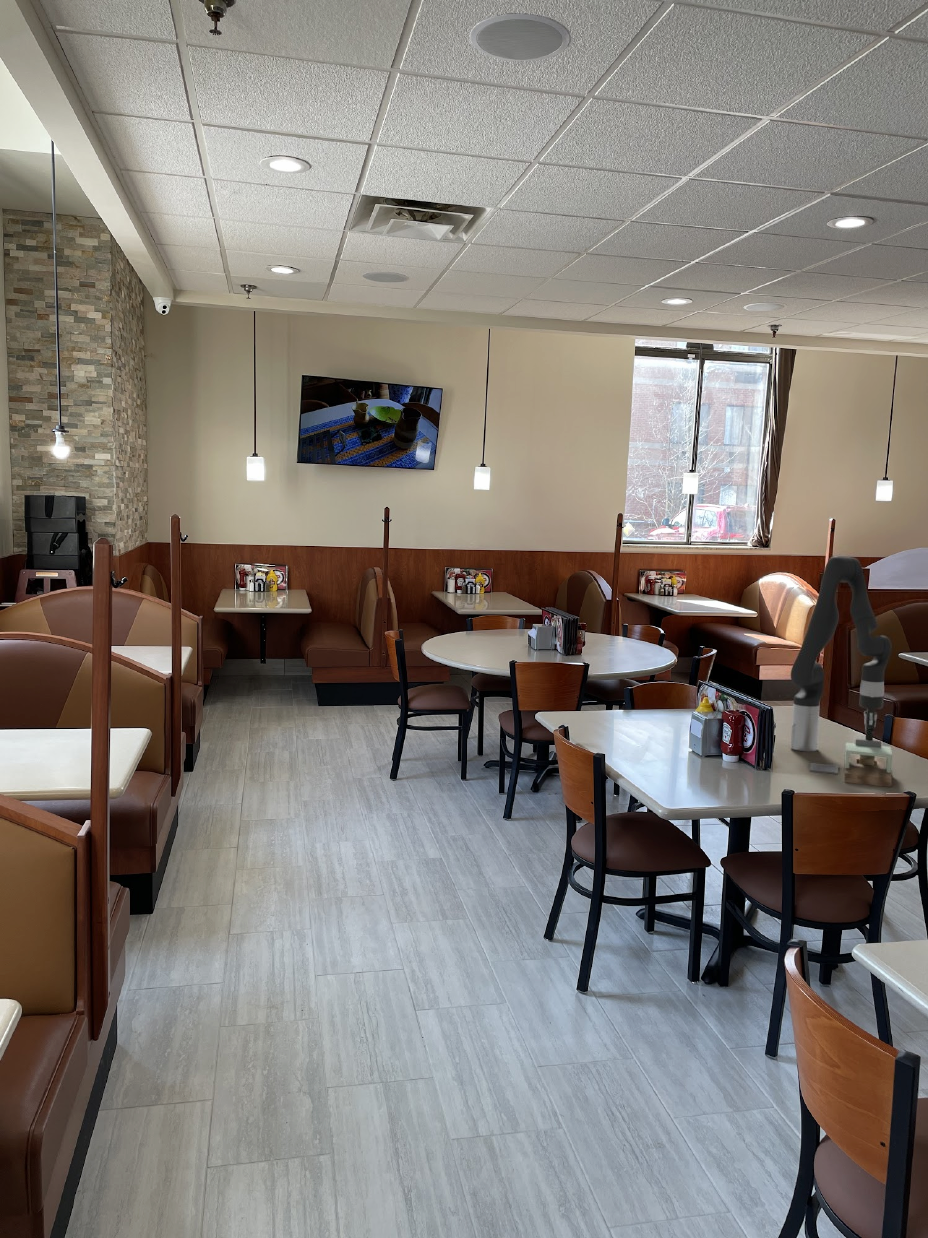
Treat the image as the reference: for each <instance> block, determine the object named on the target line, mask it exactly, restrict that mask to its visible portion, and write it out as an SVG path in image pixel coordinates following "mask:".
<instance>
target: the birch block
mask: <svg viewBox="0 0 928 1238" xmlns="http://www.w3.org/2000/svg"><path fill="white" fill-rule="evenodd" d="M859 756H860V761H859V764H863V765H873V766H874V760H875V758H876V756H868V755H859Z"/></svg>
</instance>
